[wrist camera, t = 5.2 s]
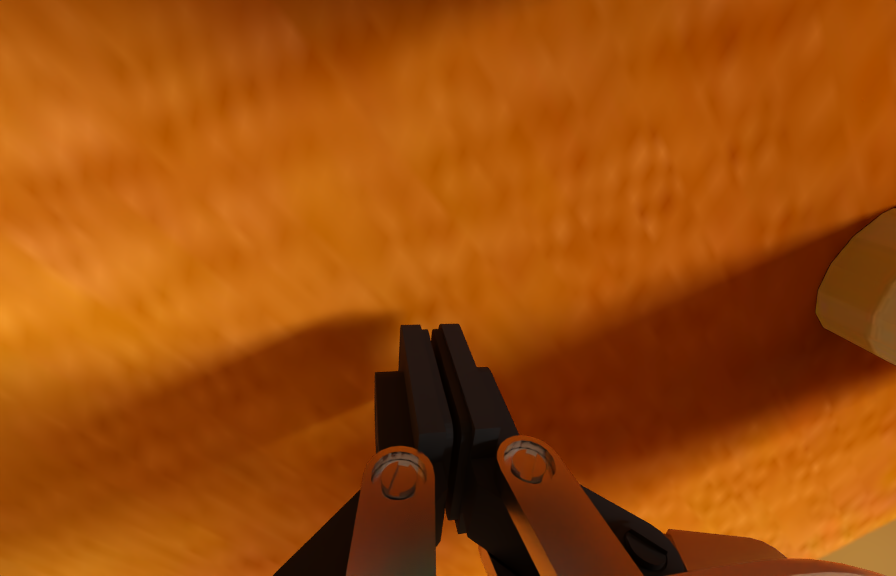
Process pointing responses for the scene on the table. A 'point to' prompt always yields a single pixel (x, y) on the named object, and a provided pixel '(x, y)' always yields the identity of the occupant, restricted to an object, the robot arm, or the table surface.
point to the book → (864, 289)
